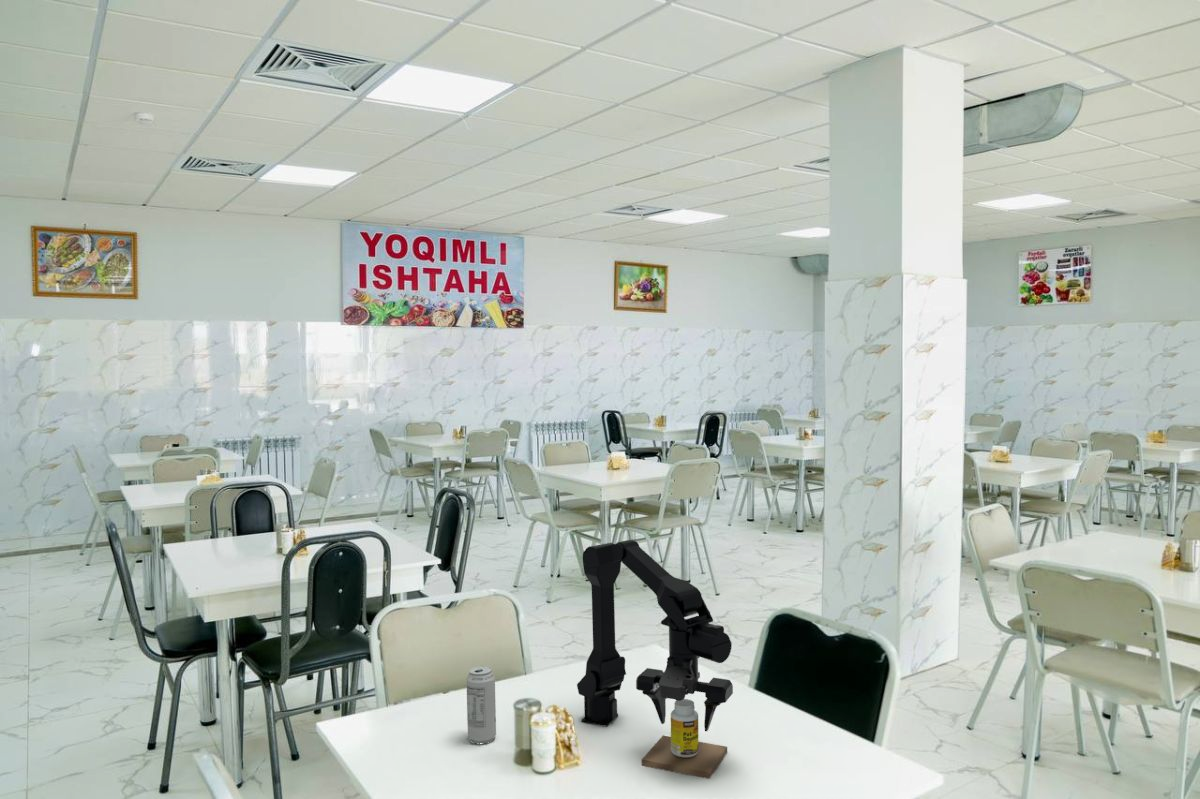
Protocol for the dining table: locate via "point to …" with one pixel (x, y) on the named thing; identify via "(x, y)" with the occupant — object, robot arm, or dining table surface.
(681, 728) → the supplement bottle
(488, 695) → the energy drink can
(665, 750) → the walnut board
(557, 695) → the dining table surface
